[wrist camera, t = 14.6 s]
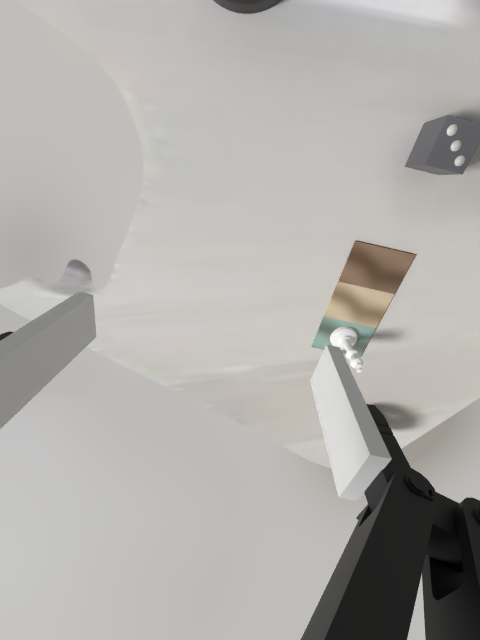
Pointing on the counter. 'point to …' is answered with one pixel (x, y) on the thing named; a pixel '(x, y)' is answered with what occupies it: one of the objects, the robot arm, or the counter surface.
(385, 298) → the track
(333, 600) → the robot arm
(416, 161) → the die
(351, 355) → the chess piece
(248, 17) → the counter surface
